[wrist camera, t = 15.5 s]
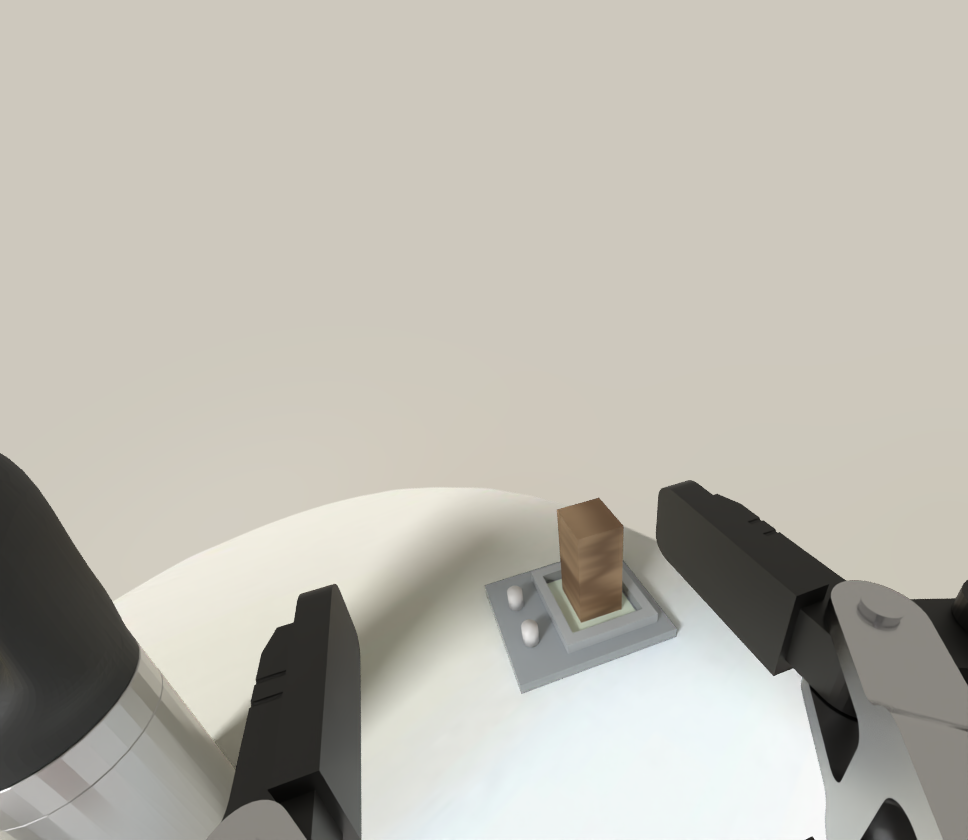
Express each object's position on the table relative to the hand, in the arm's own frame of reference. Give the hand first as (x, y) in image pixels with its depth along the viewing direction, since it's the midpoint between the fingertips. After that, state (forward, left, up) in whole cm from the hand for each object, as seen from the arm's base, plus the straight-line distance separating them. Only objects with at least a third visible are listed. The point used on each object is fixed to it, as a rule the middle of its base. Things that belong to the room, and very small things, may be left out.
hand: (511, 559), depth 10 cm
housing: (-4, +23, -32) cm, 40 cm away
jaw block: (-2, +25, -31) cm, 39 cm away
